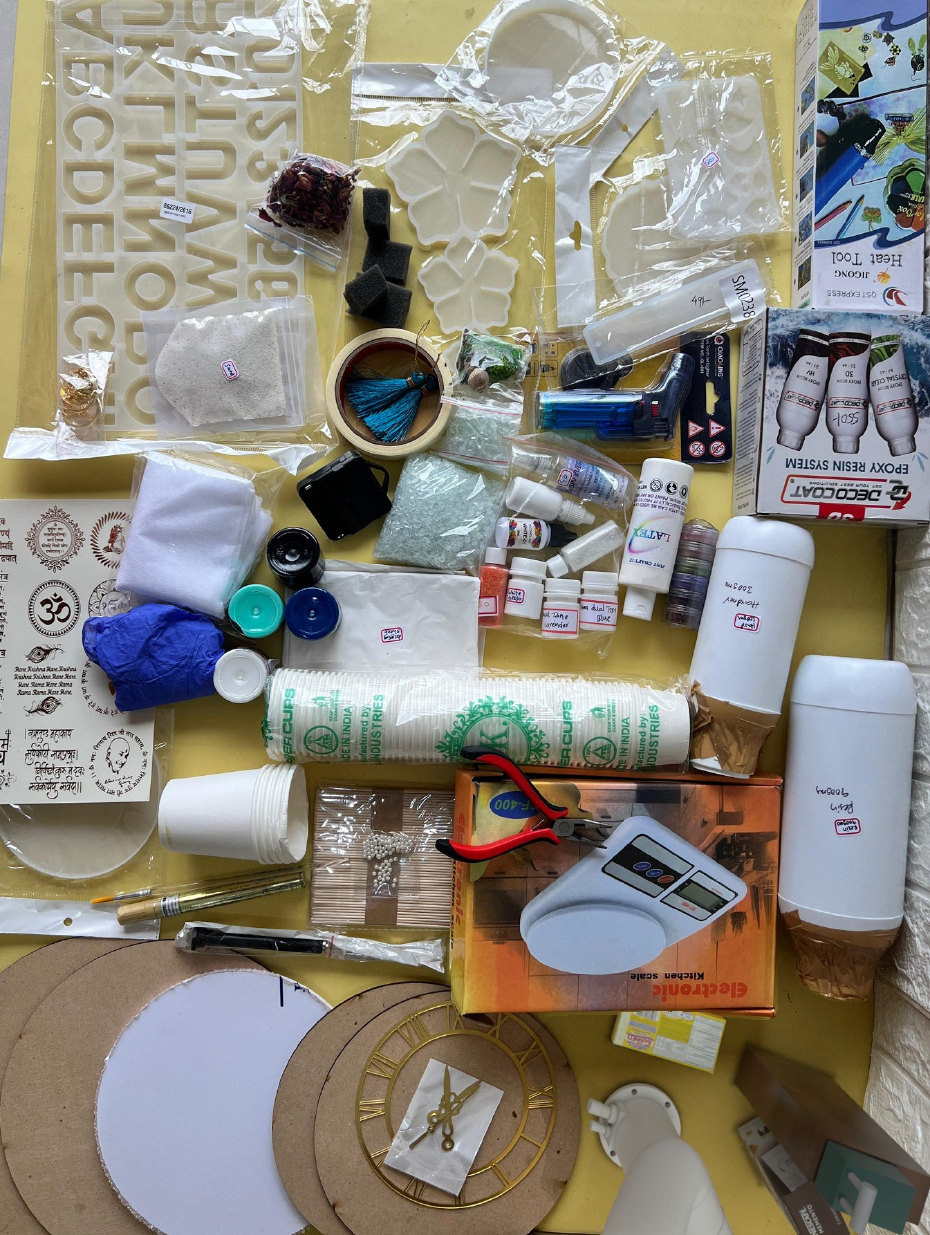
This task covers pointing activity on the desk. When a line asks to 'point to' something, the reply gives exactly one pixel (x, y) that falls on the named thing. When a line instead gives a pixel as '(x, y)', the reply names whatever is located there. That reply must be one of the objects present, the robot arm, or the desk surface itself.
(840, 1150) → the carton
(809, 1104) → the brown slanted block
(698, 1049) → the candy box
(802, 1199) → the coffee box
